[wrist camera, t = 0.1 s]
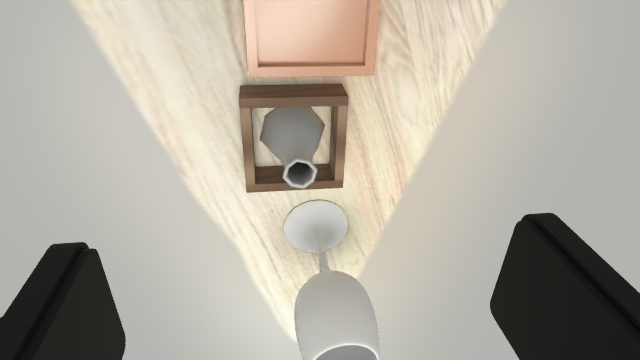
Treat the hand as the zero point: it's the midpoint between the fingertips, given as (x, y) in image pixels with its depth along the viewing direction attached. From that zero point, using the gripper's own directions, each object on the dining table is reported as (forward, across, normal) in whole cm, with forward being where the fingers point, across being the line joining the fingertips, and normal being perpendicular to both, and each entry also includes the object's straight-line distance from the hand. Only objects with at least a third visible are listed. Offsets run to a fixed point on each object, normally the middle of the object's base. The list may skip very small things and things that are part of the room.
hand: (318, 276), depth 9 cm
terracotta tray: (+37, -4, -1) cm, 37 cm away
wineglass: (+37, -5, +27) cm, 46 cm away
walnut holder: (+37, -2, +13) cm, 39 cm away
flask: (+37, -2, +13) cm, 39 cm away
